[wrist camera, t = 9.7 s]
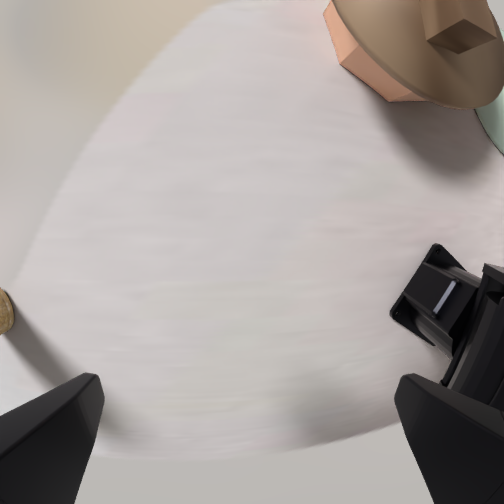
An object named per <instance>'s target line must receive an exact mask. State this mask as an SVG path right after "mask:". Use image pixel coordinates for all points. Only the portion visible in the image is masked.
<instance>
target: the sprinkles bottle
mask: <svg viewBox="0 0 504 504" xmlns="http://www.w3.org/2000/svg"><path fill="white" fill-rule="evenodd" d="M13 320H14V314H13V310H12V305H11V303H10V301H9V298H8V297H7V295H6V294H5V292H4V291H3V290H2V289H1V288H0V335H1V334H2V333H4V332H7V331H8V330H9V329H10V328H11V327H12V324H13Z"/></svg>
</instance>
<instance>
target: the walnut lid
mask: <svg viewBox="0 0 504 504" xmlns="http://www.w3.org/2000/svg"><path fill="white" fill-rule="evenodd" d="M332 2H333V4H334V7H335V9H336V11H337V13H338V15H339V17H340V18H341V20H342V21H343V23H344V25H345V26H346V28H347V29H348V31H349V32H350V33H351V35H352V36H353V37H354V39H355V40H356V41H357V43H358V44H359V45H360V46H361V47H362V48H363V50H364V51H365V52H366V53H367V54H368V55H369V56H370V57H371V58H372V59H373V60H374V61H375V62H376V63H377V64H378V65H379V66H380V67H381V68H382V69H383V70H384V71H385V72H387V73H388V74H389V75H390V76H391V77H392V78H394V79H395V80H396V81H398V82H399V83H400V84H401V85H403V86H404V87H406V88H407V89H409V90H410V91H412V92H413V93H415V94H416V95H418V96H420V97H422V98H424V99H426V100H428V101H430V102H432V103H435V104H437V105H439V106H443V107H447V108H450V109H458V110H466V109H474V108H479V107H482V106H486V105H488V104H489V103H491V102H493V101H494V100H495V99H496V98H497V97H498V96H499V94H500V93H501V91H502V90H503V87H504V41H503V37H502V34H501V31H500V29H499V26H498V25H497V22H496V20H495V18H494V16H493V14H492V12H491V10H490V9H489V6H488V3H487V0H332Z"/></svg>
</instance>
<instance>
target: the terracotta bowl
mask: <svg viewBox="0 0 504 504" xmlns="http://www.w3.org/2000/svg"><path fill="white" fill-rule="evenodd" d="M323 15H324V18H325V21H326V24H327V26H328V29H329V32H330V35H331V38H332V41H333V44H334V47H335V50H336V53H337V57H338V60H339V64H341V65H342V66H343V67H345V68H346V69H348V70H349V71H350V72H352V73H353V74H354V75H356V76H357V77H358V78H360V79H361V80H362V81H364V82H365V83H366V84H367V85H369V86H370V87H371V88H373V89H374V90H375V91H376V92H378V93H379V94H380V95H381V96H382V97H384V98H385V99H386V100H387V101H388V102H396V101H428V100H426V99H424V98H422V97H420V96H418V95H416V94H415V93H413V92H412V91H410V90H409V89H407V88H406V87H404V86H403V85H401V84H400V83H399V82H398V81H396V80H395V79H394V78H392V77H391V76H390V75H389V74H388V73H387V72H385V71H384V70H383V69H382V68H381V67H380V66H379V65H378V64H377V63H376V62H375V61H374V60H373V59H372V58H371V57H370V56H369V55H368V54H367V53H366V52H365V51H364V50H363V48H362V47H361V46H360V45H359V44H358V43H357V41H356V40H355V39H354V37H353V36H352V35H351V33H350V32H349V31H348V29H347V28H346V26H345V25H344V23H343V21H342V20H341V18H340V17H339V15H338V13H337V11H336V9H335V7H334V4H333V2H332V0H331V1H330V3H329V5H328V6H327V8H326V9H325V11H324V13H323Z"/></svg>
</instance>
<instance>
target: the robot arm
mask: <svg viewBox="0 0 504 504" xmlns="http://www.w3.org/2000/svg"><path fill="white" fill-rule="evenodd" d="M437 248H438V251H437V253H436V249H437ZM482 272H483V276H482V279H481V278H479V277H477V276H475V275H473V274H471V273H469V272H467V271H466V270H465V269H464V268H463V267H462V266H461V265H460V263H459V262H458V261H457V260H456V259H455V258H454V257H453V256H452V255H451V254H450V253H449V252H448V251H447V250H446V249H445V248H444V247H443V246H442V245H440V244H437V243H435V244H433V245H432V247H431V248H430V250H429V252H428V253H427V255H426V257H425V258H424V260H423V262H422V263H421V265H420V266H419V268H418V269H417V271H416V273H415V274H414V276H413V277H412V279H411V280H410V282H409V283H408V285H407V286H406V288H405V289H404V291H403V292H402V294H401V295H400V297H399V298H398V300H397V301H396V303H395V304H394V305H393V307H392V308H391V310H390V316H391V317H392V318H393V319H394V320H396V321H397V322H399V323H400V324H401V325H403V326H404V327H406V328H407V329H409V330H410V331H412V332H413V333H415V334H416V335H418V336H419V337H421V338H422V339H424V340H425V341H427V342H428V343H430V344H431V345H433V346H437V347H438V348H439V349H440V350H441V351H442V352H444V353H445V354H446V355H447V356H448V357H449V358H450V359H451V360H452V361H451V363H450V365H449V367H448V369H447V371H446V374H445V376H444V378H443V380H441V381H440V383H439V384H437V383H435V382H433V381H430V380H428V379H426V378H424V377H421V376H419V375H417V374H414V373H412V374H406V375H403V376H402V377H401V379H400V382H399V385H398V388H397V390H396V393H395V397H394V401H395V405H396V408H397V411H398V414H399V417H400V420H401V423H402V426H403V429H404V432H405V435H406V438H407V440H408V443H409V445H410V448H411V450H412V452H413V454H414V457H415V458H416V461H417V464H418V466H419V468H420V470H421V473H422V475H423V478H424V480H425V482H426V485H427V487H428V490H429V492H430V495H431V497H432V499H433V502H434V504H504V268H503V267H499V266H495V265H491V264H487V263H484V267H483V270H482ZM396 311H398V313H397V314H396V315H395V312H396ZM103 406H104V393H103V390H102V386H101V382H100V378H99V376H98V375H97V374H92V373H83V374H81V375H79V376H77V377H75V378H74V379H72V380H70V381H68V382H66V383H64V384H62V385H60V386H58V387H56V388H54V389H52V390H51V391H49V392H47V393H45V394H43V395H41V396H39V397H37V398H35V399H33V400H31V401H29V402H27V403H25V404H23V405H21V406H19V407H17V408H15V409H13V410H11V411H9V412H7V413H5V414H3V415H1V416H0V504H74V503H75V500H76V496H77V493H78V490H79V487H80V484H81V481H82V477H83V475H84V472H85V469H86V466H87V463H88V460H89V457H90V455H91V452H92V449H93V446H94V443H95V439H96V435H97V431H98V426H99V422H100V418H101V414H102V410H103Z"/></svg>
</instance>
